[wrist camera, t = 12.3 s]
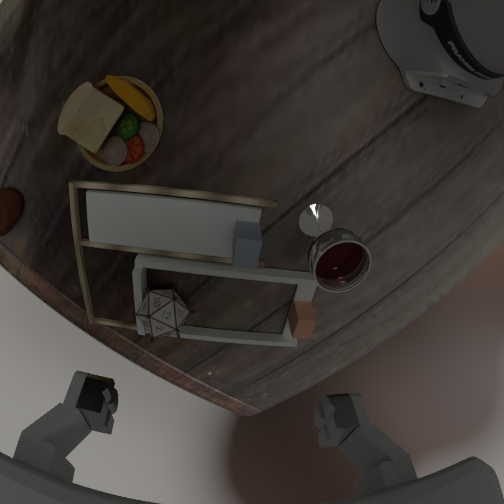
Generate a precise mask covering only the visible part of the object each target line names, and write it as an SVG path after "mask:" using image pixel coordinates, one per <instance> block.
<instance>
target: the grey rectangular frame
mask: <svg viewBox="0 0 504 504" xmlns="http://www.w3.org/2000/svg"><path fill="white" fill-rule="evenodd" d="M146 268H152V269H160V270H169V271H177V272H185V273H194V274H202V275H211V276H220V277H229V278H239V279H248V280H258V281H268V282H278V283H289V284H297V288H296V291H295V294H294V297H293V301H292V304H291V307H290V310H289V313H288V316H287V319H286V322H285V325H284V329H283V332H282V334H272V333H257V332H244V331H232V330H221V329H211V328H201V327H192V326H184V325H183V326H182V328H181V329H180V333H178V334H180V338H188V339H197V340H207V341H217V342H228V343H240V344H254V345H270V346H292V347H296V346H297V343H298V342H297V338H303V339H310V338H311V335H312V333H313V330H314V328H315V326H316V323H317V321H318V320H317V317H316V314H315V311H314V308H313V305H312V302H311V301H312V298H313V296H314V293H315V290H316V287H317V286H318V285H317V283H316V282H315V280H314V275H313V274H312V273H310V272H301V271H291V270H281V269H272V268H263V267H257V269H248V268H239V267H233V264H226V263H218V262H209V261H200V260H191V259H183V258H174V257H166V256H158V255H149V254H141V253H138V255H137V257H136V259H135V267H134V269H133V272H132V276H133V290H134V302H135V312H136V313H137V312H138V310H139V308H140V306H141V304H142V302H143V300H144V298H145V296H146V294H147V290H146V289H145V286H147V274H146ZM136 322H137V330H138V334H140V335H145V333H149V332H148V331H147V330H146V328H145V327H144V325H143V324H142V322H141V321H140V319H139V318H138V317H137V316H136ZM171 336H172V337H177V335H171Z"/></svg>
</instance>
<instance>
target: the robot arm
mask: <svg viewBox="0 0 504 504" xmlns="http://www.w3.org/2000/svg"><path fill="white" fill-rule="evenodd" d="M376 23H377V29H378V33H379V37H380V39H381V42H382V44H383V46H384V48H385V49H386V51H387V53H388V54H389V56H390V57H391V58H392V60H393V61H394V62H395V63H396V65H397V66H398V67H399V69H400V71H401V75H402V78H403V81H404V83H405V85H406V87H407V88H408V89H409V90H410V91H413V92H417V93H422V94H426V95H431V96H435V97H439V98H443V99H447V100H450V101H454V102H457V103H461V104H464V105H468V106H471V107H474V108H481V107H482V106H483V105H484V103H485V102H486V100H487V98H488V96H490V97H494V96H496V95H497V94H498V93H499V91H500V89H501V87H502V84H503V80H504V0H381V1H380V3H379V5H378V8H377V14H376ZM420 82H421V87H420V85H419V83H420ZM114 385H115V382H114V380H113V379H112V378H107V377H102V376H98V375H93V374H90V373H86V372H81V371H76V372H75V374H74V376H73V378H72V381H71V384H70V386H69V389H68V392H67V394H66V397H65V400H64V403H63V404H62V403H59V404H58V405H57V406H55V407H54V408H53V409H51V410H50V411H48V412H47V413H46V414H44V415H43V416H42V417H40V418H39V419H38V420H36V421H35V422H34V423H33V424H31V425H30V426H28V427H27V428H26V429H24V430H23V431H22V432H21V435H20V438H19V441H18V444H17V447H16V451H15V453H14V457H13V458H11V457H9V456H7V455H5V454H3V453H1V452H0V504H159V503H152V502H146V501H141V500H136V499H130V498H126V497H121V496H117V495H112V494H109V493H105V492H101V491H97V490H94V489H91V488H87V487H83V486H81V485H78V484H74V483H72V481H73V476H74V471H75V468H74V467H73V465H72V464H71V463H69V461H68V460H67V459H66V458H65V457H66V456H67V455H68V454H69V453H70V452H71V451H72V450H73V449H74V448H75V447H76V446H77V445H78V444H79V443H80V442H81V441H82V440H83V439H84V438H85V437H86V436H87V435H88V434H89V433H90V432H91V430H94V431H98V432H102V433H107V434H111V433H112V428H113V423H114V419H113V416H112V414H114V413H115V412H116V411H117V406H118V393H117V390H116V389H115V388H114ZM314 421H315V425H316V426H317V427H318V428H319V429H320V430H319V432H318V434H317V435H318V440H319V445H320V448H322V447H334V446H339V448H340V449H341V450H342V452H343V453H344V454H345V455H346V456H347V457H348V458H349V460H350V461H351V462H352V463H353V464H354V465H355V466H356V467H357V468H358V470H359V471H360V472H361V473H362V474H363V475H364V476H362V477H361V478H359V479H358V480H357V481H356V482H355V483H354V487H355V492H356V497H352V498H347V499H343V500H337V501H331V502H325V503H319V504H504V498H503V494H502V491H501V487H500V484H499V481H498V478H497V475H496V473H495V471H494V470H493V468H492V467H490V466H489V465H487V464H486V463H485V462H483V461H482V460H481V459H479V458H477V457H469V458H467V459H465V460H462V461H460V462H458V463H456V464H454V465H451V466H449V467H447V468H444V469H442V470H440V471H437V472H435V473H432V474H430V475H427V476H424V477H422V478H419V479H417V476H416V472H415V469H414V467H413V464H412V461H411V458H410V455H409V454H408V453H407V452H406V451H404V450H403V449H402V448H401V447H400V446H398V445H397V444H396V443H395V442H394V441H393V440H392V439H390V438H389V437H388V436H387V435H386V434H385V433H383V432H382V431H381V430H380V429H379V428H378V427H377V426H375V425H371V422H370V419H369V416H368V413H367V410H366V408H365V405H364V402H363V399H362V396H361V395H360V393H350V394H336V395H335V394H334V395H325V396H323V398H322V403H321V404H319V405H318V406H317V407H316V409H315V414H314Z"/></svg>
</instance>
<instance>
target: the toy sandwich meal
mask: <svg viewBox="0 0 504 504" xmlns="http://www.w3.org/2000/svg"><path fill="white" fill-rule="evenodd" d="M162 129H163V113H162V108H161V105H160V102H159V100H158V98H157V96H156V95H155V93H154V92H153V91H152V89H151V88H150V87H149V86H147V85H146V84H145V83H143V82H142V81H140V80H138V79H135V78H132V77H127V76H115V77H114V76H111V75H108V76H107V77H106V78H105V80H102V81H100V82H99V83H97V84H96V85H94V83H93V82H91V81H88V82H85V83H83V84H82V85H80V86H79V87H78V88H77V89H76V90H75V91H74V92H73V93H72V94H71V96H70V97H69V98H68V100H67V101H66V103H65V105H64V107H63V109H62V111H61V114H60V117H59V120H58V127H57V130H58V133H59V134H60V135H66V136H68V137H69V138H71V139H72V140H74V141H75V142H76V143H77V145H78V147H79V149H80V151H81V153H82V154H83V155H84V157H85V158H86V159H87V160H88V161H89V162H90V163H92V164H93V165H95V166H96V167H98V168H101V169H103V170H107V171H114V172H118V171H125V170H129V169H132V168H134V167H136V166H138V165H140V164H141V163H143V162H144V161H145V160H146V159H147V158H148V157H149V156H150V155H151V154H152V153H153V151H154V150H155V148H156V146H157V145H158V142H159V140H160V137H161V134H162Z"/></svg>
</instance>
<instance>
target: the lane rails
mask: <svg viewBox="0 0 504 504" xmlns="http://www.w3.org/2000/svg"><path fill="white" fill-rule="evenodd" d="M78 188H92V189H106V190H119V191H131V192H142V193H153V194H163V195H173V196H182V197H192V198H200V199H209V200H217V201H226V202H234V203H241V204H249V205H256V206H264V207H271V208H277V206H278V201H275V200H268V199H261V198H254V197H246V196H239V195H231V194H223V193H215V192H207V191H198V190H189V189H179V188H170V187H159V186H148V185H137V184H125V183H111V182H96V181H79V180H72V181H71V182H69V193H70V207H71V218H72V228H73V237H74V245H75V252H76V259H77V265H78V271H79V277H80V282H81V288H82V293H83V298H84V302H85V307H86V311H87V316H88V320H89V324H94V323H100V324H105V325H110V326H116V327H122V328H128V329H134V330H137V324H134V323H128V322H122V321H116V320H110V319H104V318H99V317H94V312H93V307H92V302H91V297H90V292H89V286H88V280H87V274H86V268H85V261H84V253H83V246H90V247H97V248H105V249H113V250H121V251H129V252H137V253H145V254H154V255H162V256H170V257H179V258H187V259H196V260H205V261H213V262H222V263H231V264H233V262H232V258H226V257H217V256H209V255H200V254H191V253H183V252H174V251H166V250H157V249H149V248H140V247H132V246H124V245H116V244H108V243H99V242H91V241H90V240H89V239H82V237H81V227H80V216H79V202H78ZM264 265H265V260H261V259H259V261H258V267H264Z"/></svg>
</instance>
